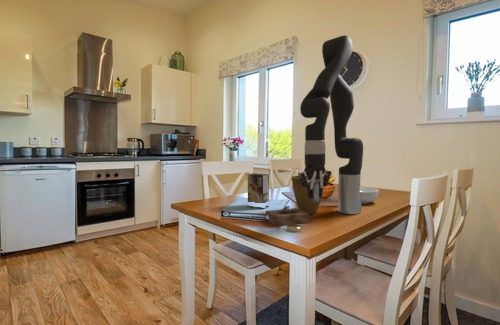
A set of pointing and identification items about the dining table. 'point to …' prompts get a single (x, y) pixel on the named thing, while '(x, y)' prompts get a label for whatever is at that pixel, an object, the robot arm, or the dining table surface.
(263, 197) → the coffee box
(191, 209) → the dining table surface
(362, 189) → the cereal bowl
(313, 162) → the robot arm
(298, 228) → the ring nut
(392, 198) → the dining table surface
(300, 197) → the plant pot
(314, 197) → the pin
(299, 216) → the slot block
